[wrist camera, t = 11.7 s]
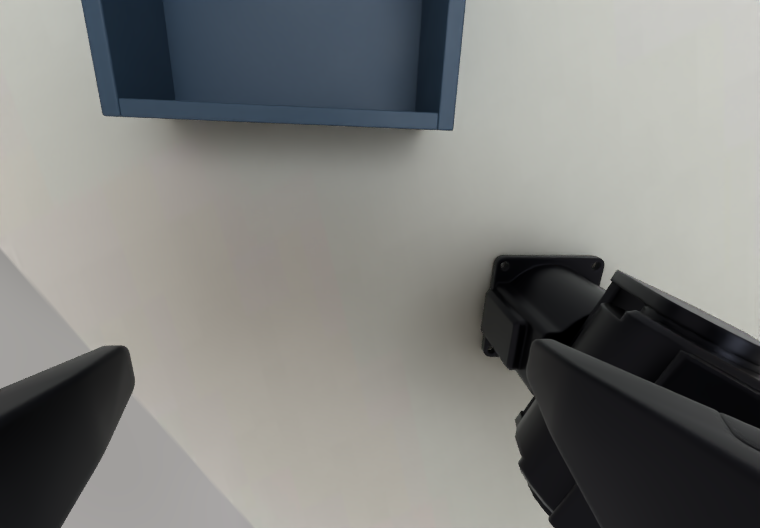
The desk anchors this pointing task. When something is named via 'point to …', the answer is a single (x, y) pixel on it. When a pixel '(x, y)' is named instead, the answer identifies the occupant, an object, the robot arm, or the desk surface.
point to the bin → (279, 60)
